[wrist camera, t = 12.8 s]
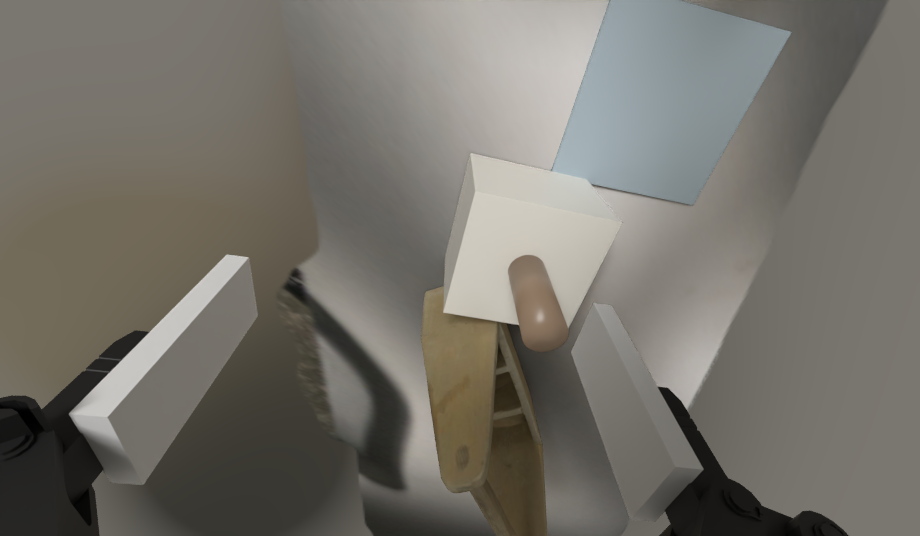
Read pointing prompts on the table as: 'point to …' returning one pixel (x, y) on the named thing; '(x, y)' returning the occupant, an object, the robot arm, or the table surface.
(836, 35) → the table surface
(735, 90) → the mat
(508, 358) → the caddy
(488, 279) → the cover box
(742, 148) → the table surface
